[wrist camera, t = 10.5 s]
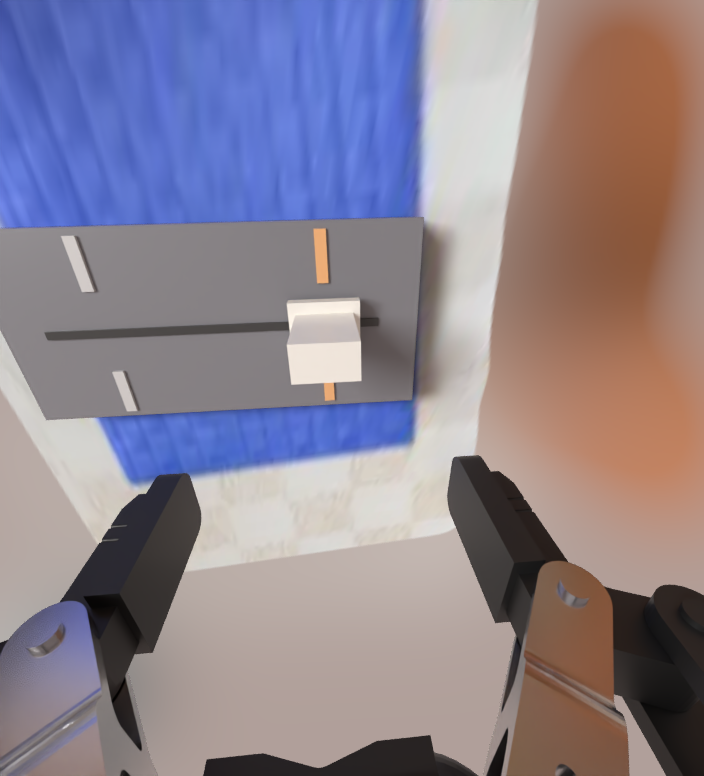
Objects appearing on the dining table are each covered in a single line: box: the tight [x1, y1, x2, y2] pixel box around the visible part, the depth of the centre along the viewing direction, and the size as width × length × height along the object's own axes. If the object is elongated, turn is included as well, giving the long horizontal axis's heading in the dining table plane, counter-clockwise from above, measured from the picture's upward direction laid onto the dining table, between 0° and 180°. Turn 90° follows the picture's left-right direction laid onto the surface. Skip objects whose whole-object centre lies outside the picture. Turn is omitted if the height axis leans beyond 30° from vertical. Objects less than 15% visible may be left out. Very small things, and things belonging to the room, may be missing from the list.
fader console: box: [0, 217, 424, 420], centre depth 27 cm, size 14×30×3 cm, turn 91°
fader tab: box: [287, 297, 361, 385], centre depth 22 cm, size 4×5×7 cm
